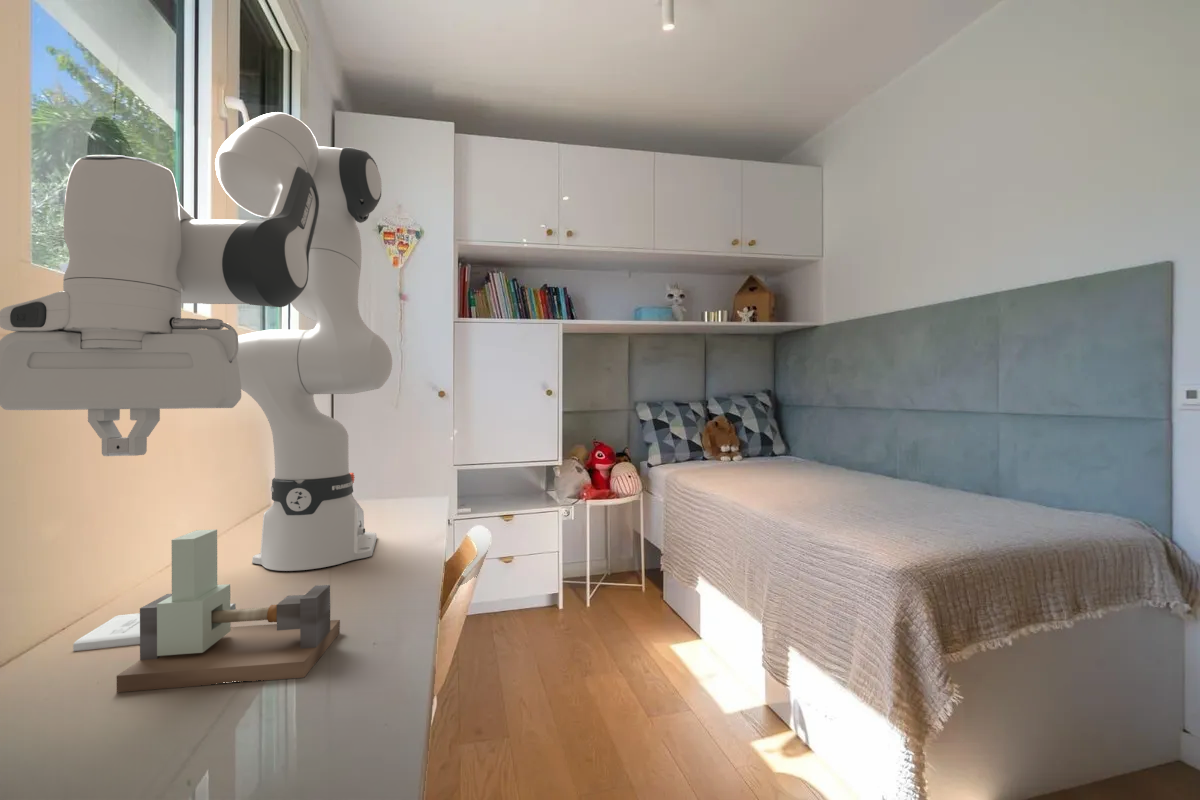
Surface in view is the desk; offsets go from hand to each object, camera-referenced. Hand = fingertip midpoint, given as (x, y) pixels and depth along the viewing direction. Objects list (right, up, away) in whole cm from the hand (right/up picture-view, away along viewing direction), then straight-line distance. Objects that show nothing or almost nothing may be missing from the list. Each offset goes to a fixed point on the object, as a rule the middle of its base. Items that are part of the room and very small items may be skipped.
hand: (124, 455), depth 53 cm
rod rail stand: (+11, -21, +2) cm, 24 cm away
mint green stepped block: (+6, -19, +1) cm, 20 cm away
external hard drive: (-4, -22, +9) cm, 24 cm away
